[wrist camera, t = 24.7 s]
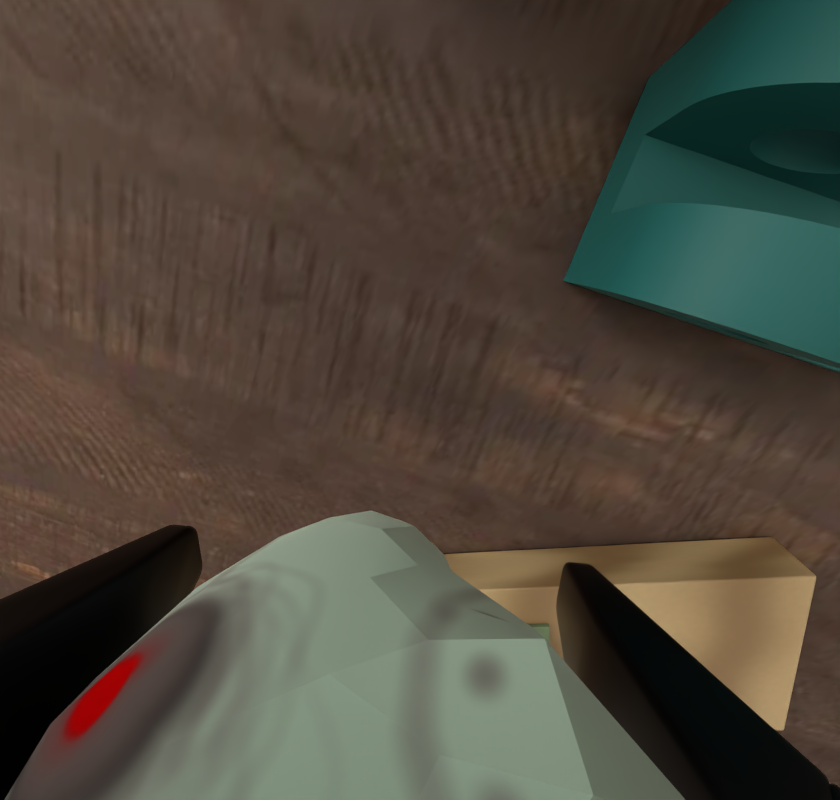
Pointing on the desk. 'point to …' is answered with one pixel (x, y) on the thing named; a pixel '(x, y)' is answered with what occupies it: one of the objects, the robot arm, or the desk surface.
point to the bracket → (733, 184)
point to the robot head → (339, 691)
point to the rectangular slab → (679, 603)
